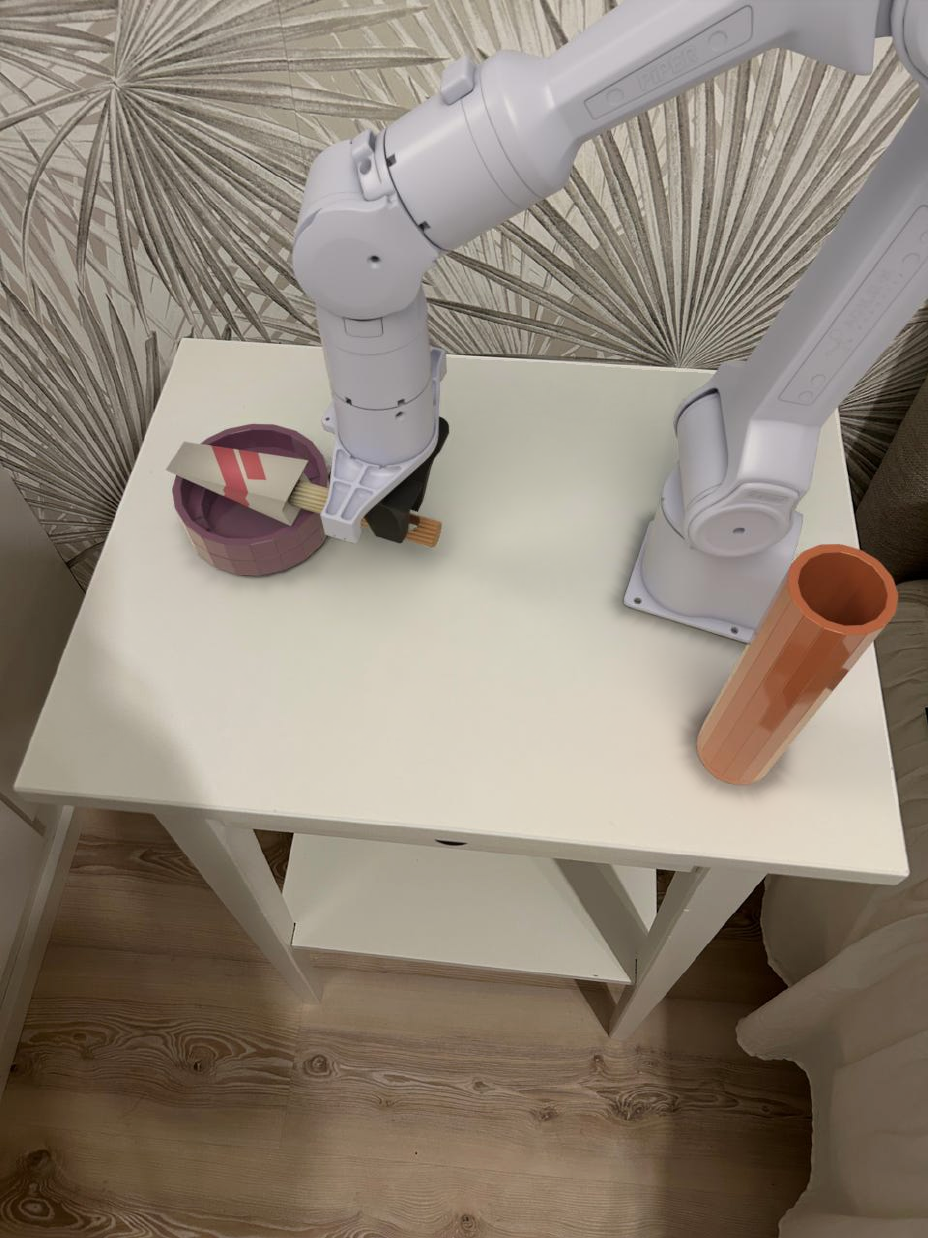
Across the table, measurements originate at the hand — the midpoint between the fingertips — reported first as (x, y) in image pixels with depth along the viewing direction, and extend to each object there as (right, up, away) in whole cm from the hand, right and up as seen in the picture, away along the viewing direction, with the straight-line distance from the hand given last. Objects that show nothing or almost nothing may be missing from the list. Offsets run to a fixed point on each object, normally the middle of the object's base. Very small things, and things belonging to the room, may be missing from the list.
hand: (398, 519), depth 61 cm
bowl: (-11, +1, +8) cm, 14 cm away
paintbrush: (-7, +1, +3) cm, 7 cm away
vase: (+22, -15, -2) cm, 27 cm away
